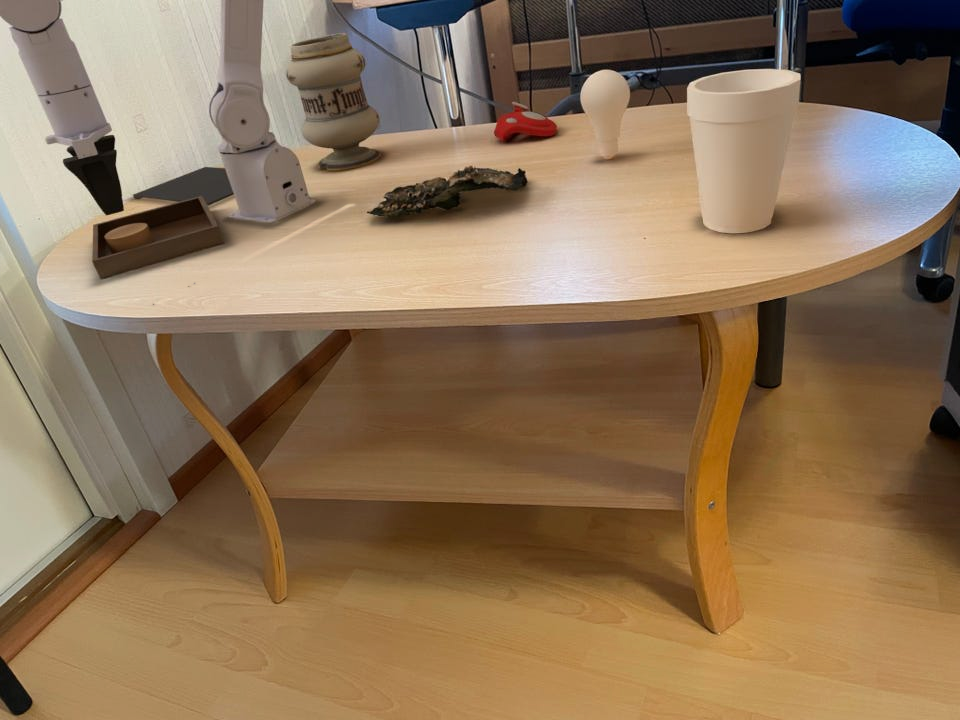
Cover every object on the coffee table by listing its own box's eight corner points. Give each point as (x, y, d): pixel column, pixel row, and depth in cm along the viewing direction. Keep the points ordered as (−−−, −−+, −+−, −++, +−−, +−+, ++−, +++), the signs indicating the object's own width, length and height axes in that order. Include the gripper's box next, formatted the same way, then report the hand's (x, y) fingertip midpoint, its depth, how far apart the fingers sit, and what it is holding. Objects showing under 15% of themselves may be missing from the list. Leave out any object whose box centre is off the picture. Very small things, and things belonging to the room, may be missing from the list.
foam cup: (757, 246, 63) (766, 96, 56) (668, 230, 69) (666, 92, 62) (806, 211, 68) (820, 69, 61) (719, 198, 74) (723, 68, 67)
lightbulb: (639, 152, 92) (636, 63, 86) (621, 167, 88) (617, 75, 82) (596, 151, 95) (591, 65, 90) (577, 165, 91) (570, 77, 85)
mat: (282, 175, 109) (281, 172, 109) (209, 207, 100) (207, 203, 100) (206, 170, 120) (205, 166, 120) (134, 198, 111) (132, 194, 111)
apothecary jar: (296, 170, 111) (261, 48, 102) (353, 148, 118) (326, 32, 109) (344, 176, 103) (311, 45, 94) (402, 152, 111) (377, 28, 101)
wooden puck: (161, 239, 89) (155, 224, 88) (124, 255, 86) (118, 240, 85) (139, 235, 92) (133, 221, 91) (103, 251, 89) (96, 236, 88)
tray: (225, 246, 85) (218, 225, 83) (101, 282, 80) (92, 261, 79) (208, 213, 98) (201, 195, 96) (101, 243, 93) (92, 224, 92)
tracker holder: (572, 123, 106) (519, 123, 100) (564, 151, 108) (512, 153, 103) (526, 96, 113) (475, 95, 108) (520, 124, 116) (470, 124, 111)
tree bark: (350, 201, 79) (379, 153, 91) (367, 249, 82) (393, 197, 94) (515, 171, 75) (523, 126, 87) (525, 223, 78) (532, 173, 90)
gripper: (31, 91, 84) (81, 200, 91) (20, 105, 72) (78, 229, 79) (93, 78, 86) (137, 186, 93) (93, 90, 74) (143, 212, 81)
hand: (114, 205), depth 86 cm, fingers open, 7 cm apart
